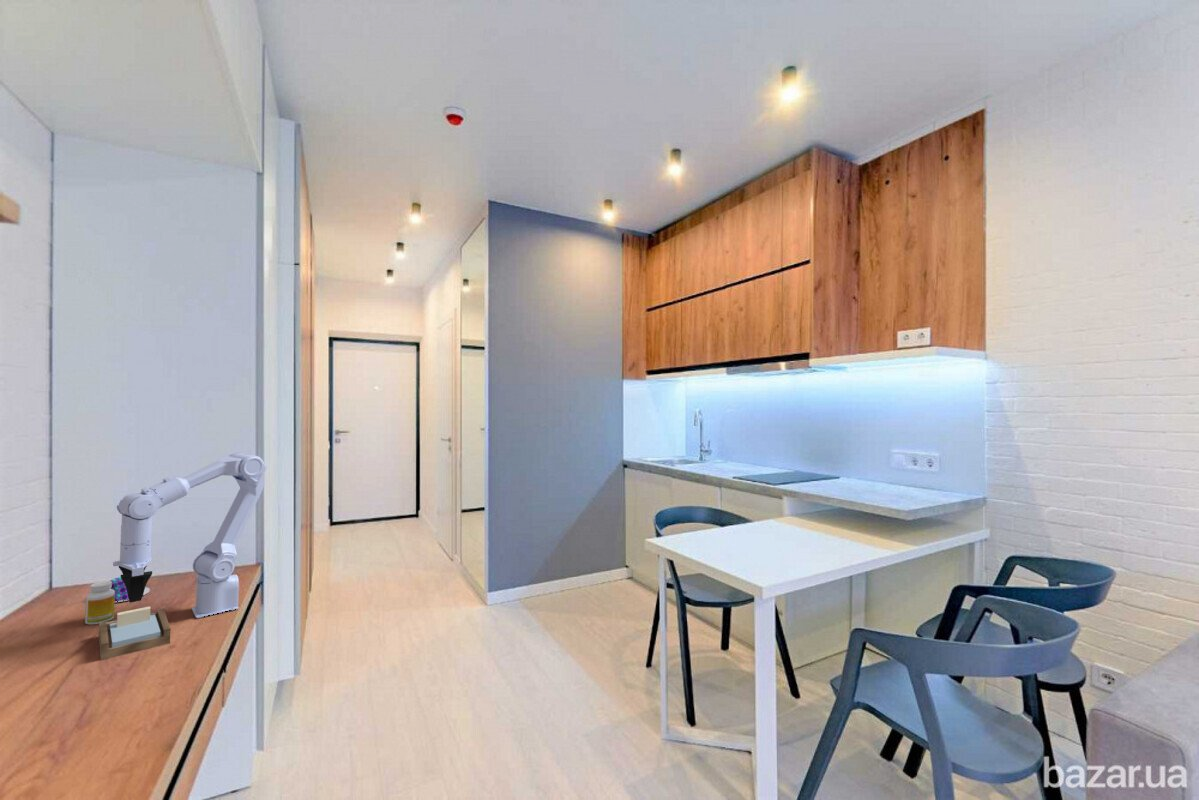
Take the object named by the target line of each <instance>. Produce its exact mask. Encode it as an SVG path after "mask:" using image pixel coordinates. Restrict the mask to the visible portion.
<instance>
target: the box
mask: <svg viewBox="0 0 1199 800" xmlns="http://www.w3.org/2000/svg"><path fill="white" fill-rule="evenodd" d="M154 614H155V616H156V619H157V622H158V625H159V628H160V631H161V633H160V637H156V638H152V639H148V640H143V641H139V642H135V643H131V644H127V645H122V646H118V647H114V648H112V644H111V637H110V629H109V627H110V624H112V623H117V619H115V620H112V621H111V620H110V621H107V622H106V621H103V622H99V624H98V645H99V656H100V657H99V658H100V661H103V660H106V659H107V660H108V659H111V658H115V657H119V656H123V655H124V656H125V655H127V654H131V653H135V652H139V651H143V650H147V649H151V648H155V647H160V646H163V645H167V644H171V629H172V628H171V626H170V623H169V621H168V617H167V615H166V611H165V610H164V608H162V609H157V610H156V611H154V612H150V615H154Z"/></svg>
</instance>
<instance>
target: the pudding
mask: <svg viewBox="0 0 1199 800" xmlns="http://www.w3.org/2000/svg"><path fill="white" fill-rule="evenodd" d="M109 581H111V582H112V587H111V588H110V589H113V590H114V591H115V601H116V602H117V601H118V602H117V603H120V602H126V601H129V599H128V594H127V589H126V586H125V584H124V582H123V581H122V579H121V576H120V577H114V578H113V579H111V580H109ZM149 592H150V588H149V587H147V586H145V590H144V594H143V596H144V595H146V594H148V593H149ZM127 599H128V600H127ZM119 600H120V601H119ZM123 600H124V601H123Z"/></svg>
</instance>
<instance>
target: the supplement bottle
mask: <svg viewBox="0 0 1199 800" xmlns="http://www.w3.org/2000/svg"><path fill="white" fill-rule="evenodd" d="M111 587H112V582H111V581H110V580H103V581H97V582H94V583H92V584H90V588H89V591H90V592H89V593H87V595H86V598H85V610H84V611H85V613H84V623H85V624H86V625H89V626H90V625H99V622H103V621H106V622H111V620H113V619H114V617H115V603H116V602H115V591H114V590H113V589H110V588H111Z"/></svg>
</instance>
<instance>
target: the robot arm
mask: <svg viewBox="0 0 1199 800" xmlns="http://www.w3.org/2000/svg"><path fill="white" fill-rule="evenodd" d="M266 470H267V465H266V464H265V462H264V460H263V459H262V458H261V457H260V456H258V455H251V454H245V453H241V452H232V453H231V454H228V455H225V456H223V457H220V458H219V459H217V460H216V461H214V462H211V463H210V464H208V465H206V466H204V467H202V468H200V469H198V470H196V471H193V472H192V473H190V474H188V475H186V476H184V477H178V476H173V477H169V476H168V477H165V478H163V479H162V481H161V482H159V483H157V484H155V485H153V486H150V487H148V488H147V487H144V488H141V491H140V492H133V493H129V494H126V495H124V497H122V499H120V501H119V503H118V505H116V510H117V512H118V513H119V514H121V525H120V542H119V543H120V546H119V547H120V548H119V560H116V561H115V560H114V561H113V562H112V566H113V567H118V568H119V570H120V571H121V573H122V574H120V577H121V579H122V581H123V582H124V584H125V586H126V589H127V594H128V599H129V600H128V602H129V603H130V604H131V603H135V602H141V601H142V599H143V596H144V595H143V594H144V590H145V587H147V583H148V581H149V580H150V578H152V575H153V570H150V571H145V570H146V569H147V567H148V565H149V564H150V563H151V562H153V557H152V545H153V544H152V542H153V541H152V540H153V539H152V537H153V516H154V515H155V514H156V512H157V511H158V510H159V509H161V508H163V507H165V506H167V505H169V504H171V503H173V502H176V501H177V500H180V499H182V498H185V497H186V496H187V495H188V493H189V491H190V489H192V488H194V487H197V486H201V485H203V484H204V483H206V482H209V481H211V480H215V479H216V478H219V477H221V476H222V477H223V476H231V477H233V478H234V479H235V481H236V482H237V484H238V486H239V490H238V492H237V494H236V496H235V498H234V499H233V501H232V504H231V506H230V507H229V510H228V512H227V514H226V516H225V518H224V520H223V521H222V523H221V525H220V527H219V529H218V531H217V534H216V535H215V537H214V540H212V542H210V543H209V544H207V545H206V546H204V548H203V551H202V552H201V553H200V554H199V555H198V556H196V557H195V559H194V560H193V563H192V569H193V571H194V572H195V573H196V574H197V576H196V577H197V578H196V587H195V588H196V590H195V591H196V593H195V594H196V595H195V606H192V607H191V611H192V613H193V616H194V617H195V619H200V618H201V619H202V618H205V617H209V616H208V615H210V616H214V615H218V614H217V613H219V614H222V612H223V613H226V612H225V611H228V612H230V611H229V610H232V611H236V610H238V609H239V593H240V591H239V590H240V582H239V576H238V574H233V572H234V571H235V568H236V563H235V561H236V559H237V557H238V552H237V549H236V545H237V543H238V541H239V539H240V537H241V535H242V533H243V532H244V529H245V527H246V525H247V523H248V521H249V518H250V517H251V515H252V512H253V511H254V509H255V506H256V504H257V503H258V500H259V499H260V496H261V494H262V492H263V490H264V488H265V472H266ZM235 609H236V610H235ZM213 614H214V615H213ZM204 616H205V617H204Z"/></svg>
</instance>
